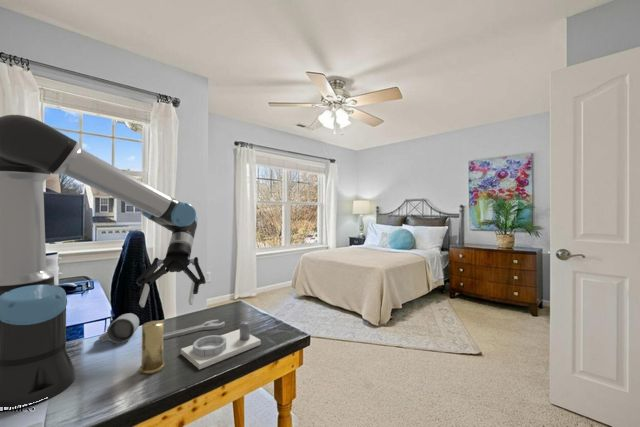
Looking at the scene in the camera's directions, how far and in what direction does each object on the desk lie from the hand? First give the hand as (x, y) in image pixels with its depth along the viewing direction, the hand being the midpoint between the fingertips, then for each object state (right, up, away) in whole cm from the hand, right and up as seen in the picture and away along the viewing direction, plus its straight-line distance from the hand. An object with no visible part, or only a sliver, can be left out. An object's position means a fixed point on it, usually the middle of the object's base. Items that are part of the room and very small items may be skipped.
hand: (166, 304), depth 87 cm
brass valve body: (+2, -14, -10) cm, 17 cm away
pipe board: (+16, -14, +2) cm, 22 cm away
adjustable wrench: (0, -15, +14) cm, 20 cm away
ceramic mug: (-19, -14, +7) cm, 25 cm away
